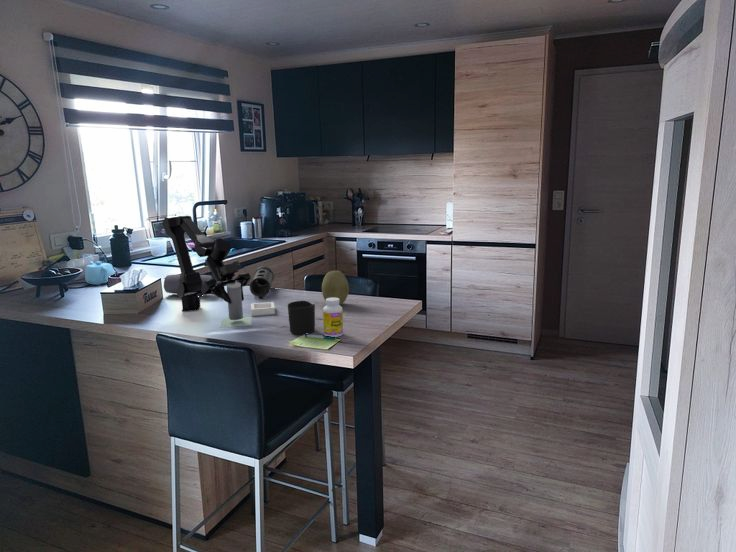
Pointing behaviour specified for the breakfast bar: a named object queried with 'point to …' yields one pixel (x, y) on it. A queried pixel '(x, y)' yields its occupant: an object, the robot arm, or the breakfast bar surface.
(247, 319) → the pad
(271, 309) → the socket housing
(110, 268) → the teapot
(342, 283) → the fruit
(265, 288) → the muzzle brake
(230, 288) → the grey rectangular block
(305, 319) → the pen holder
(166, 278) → the bluetooth speaker
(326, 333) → the supplement bottle
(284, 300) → the breakfast bar surface
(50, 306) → the breakfast bar surface
